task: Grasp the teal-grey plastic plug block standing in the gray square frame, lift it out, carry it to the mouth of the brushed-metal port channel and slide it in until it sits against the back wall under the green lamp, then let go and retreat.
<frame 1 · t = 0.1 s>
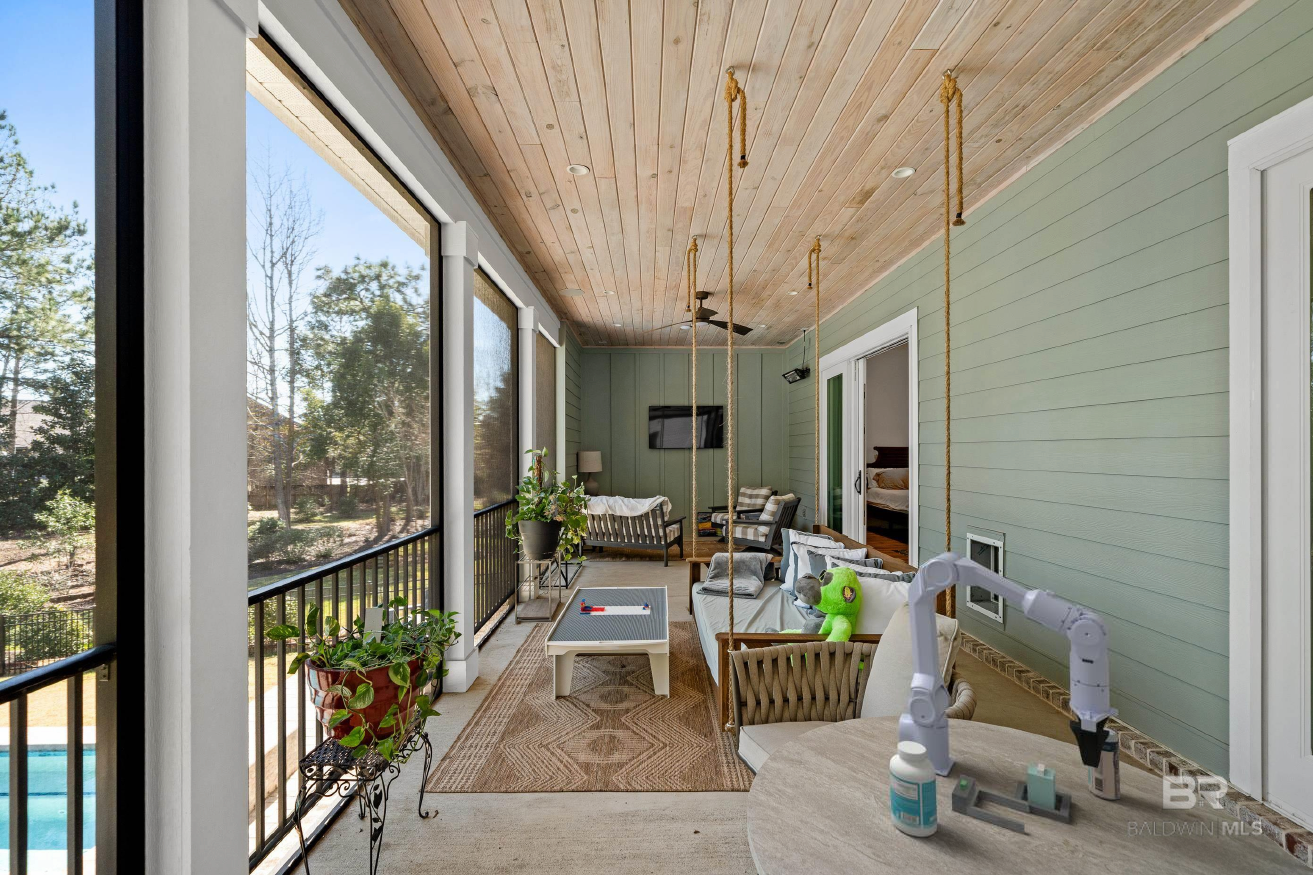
hand: (1091, 756, 107), 10 cm above the table, fingers open, 7 cm apart
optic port: (997, 812, 107), on the table
supplement canister: (1104, 795, 112), on the table
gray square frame: (1041, 804, 109), on the table
pill bottle: (913, 826, 103), on the table
plug: (1042, 804, 109), on the table
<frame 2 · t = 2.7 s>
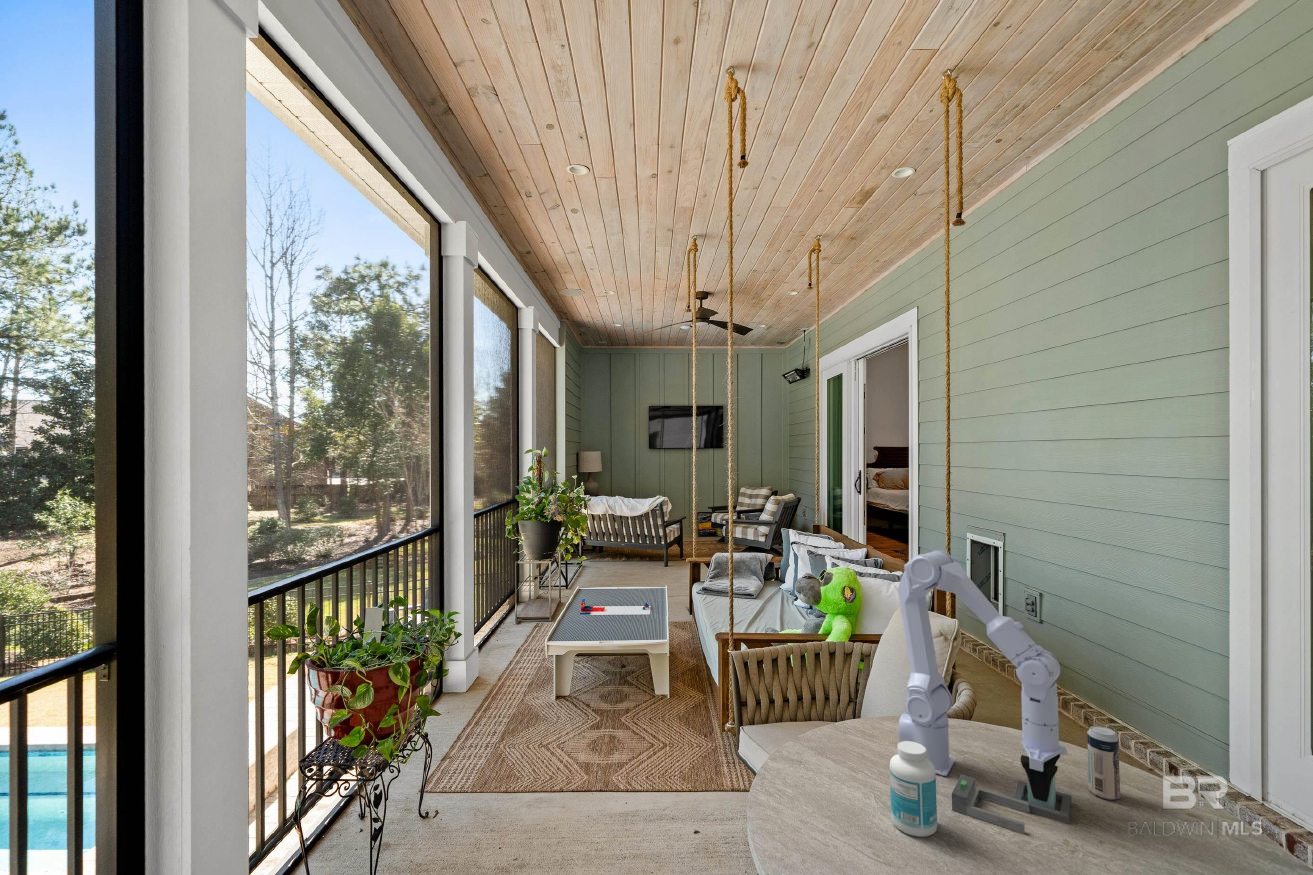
hand: (1041, 793, 109), 2 cm above the table, fingers closed on plug, 4 cm apart
plug: (1041, 804, 109), on the table, touching gripper
everything else where it was.
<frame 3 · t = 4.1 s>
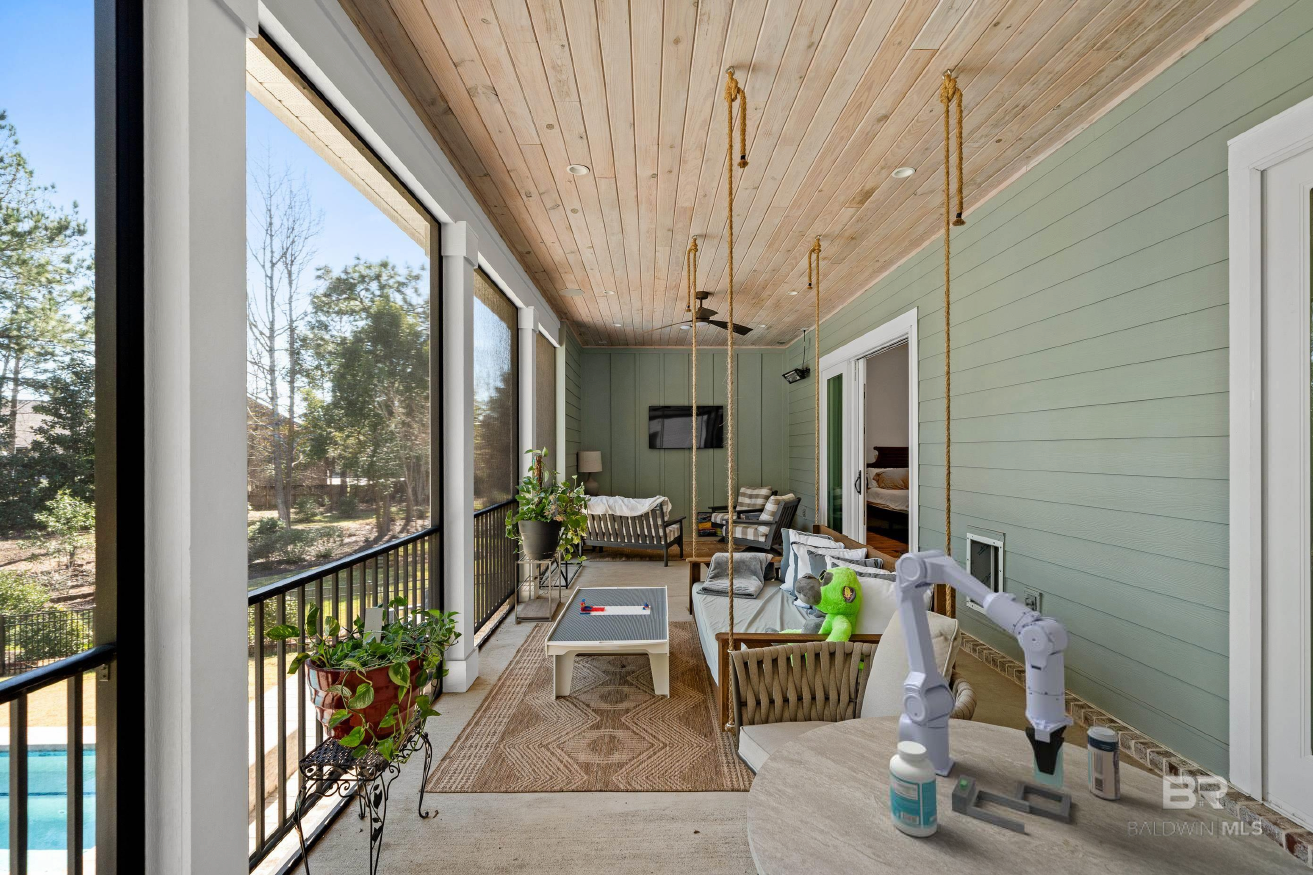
hand: (1047, 767, 104), 9 cm above the table, fingers closed on plug, 4 cm apart
plug: (1049, 779, 104), point 7 cm above the table, touching gripper
everything else where it was.
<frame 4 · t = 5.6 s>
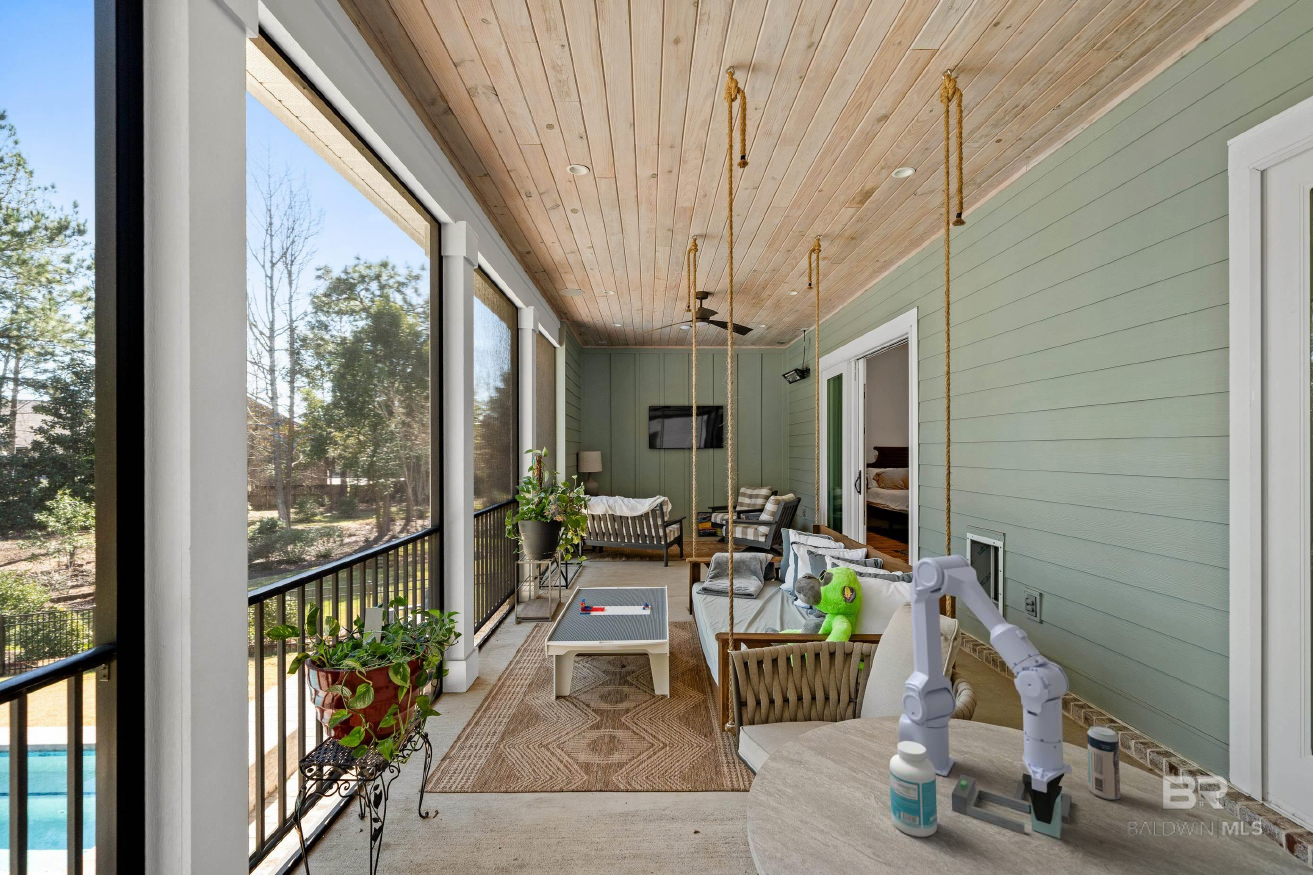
hand: (1044, 814, 102), 2 cm above the table, fingers closed on plug, 4 cm apart
plug: (1046, 827, 102), on the table, touching gripper
everything else where it was.
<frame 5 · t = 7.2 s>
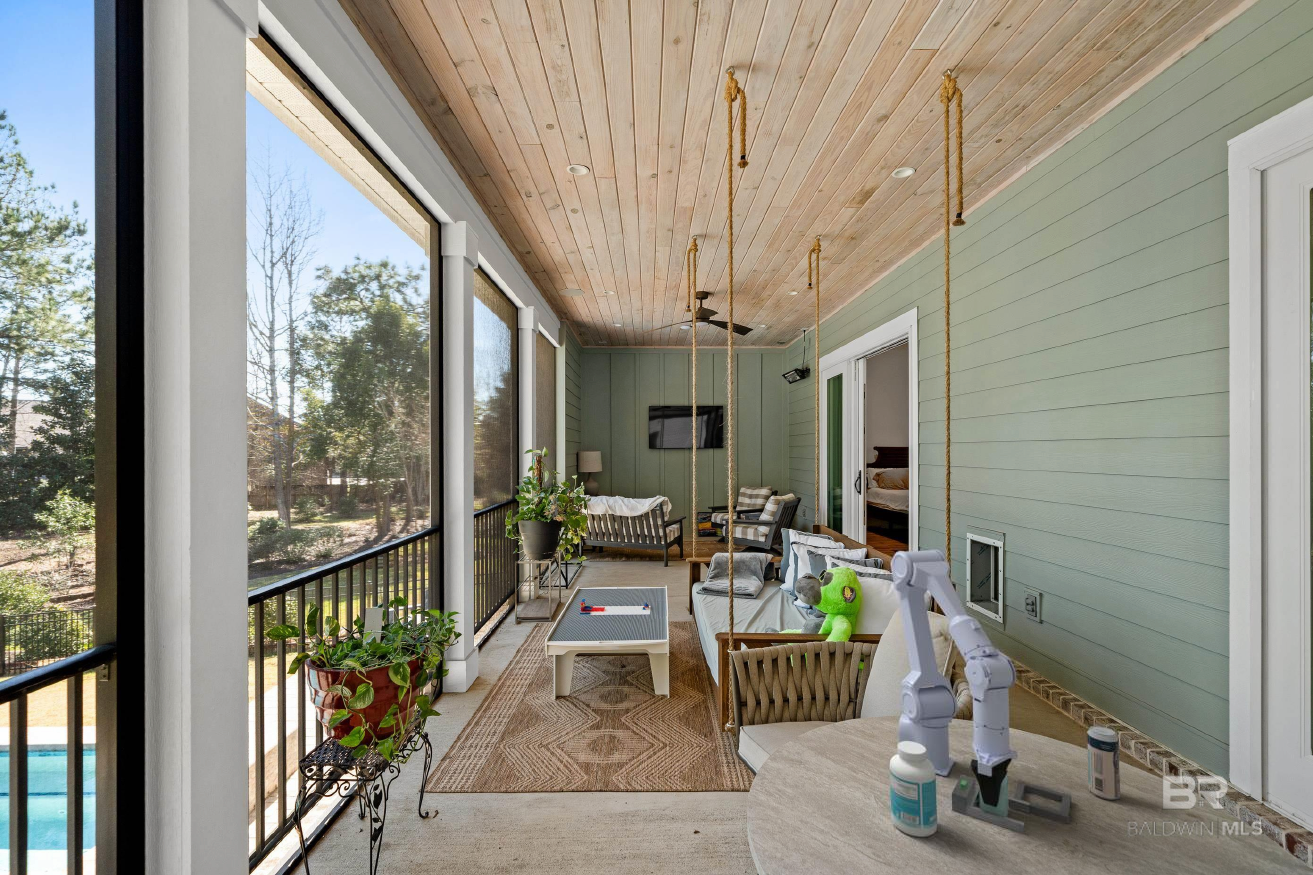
hand: (992, 798, 107), 2 cm above the table, fingers closed on plug, 4 cm apart
plug: (994, 810, 107), on the table, touching gripper
everything else where it was.
when the fingers open (2 cm above the table, at t = 8.7 s): plug stays where it is, on the table.
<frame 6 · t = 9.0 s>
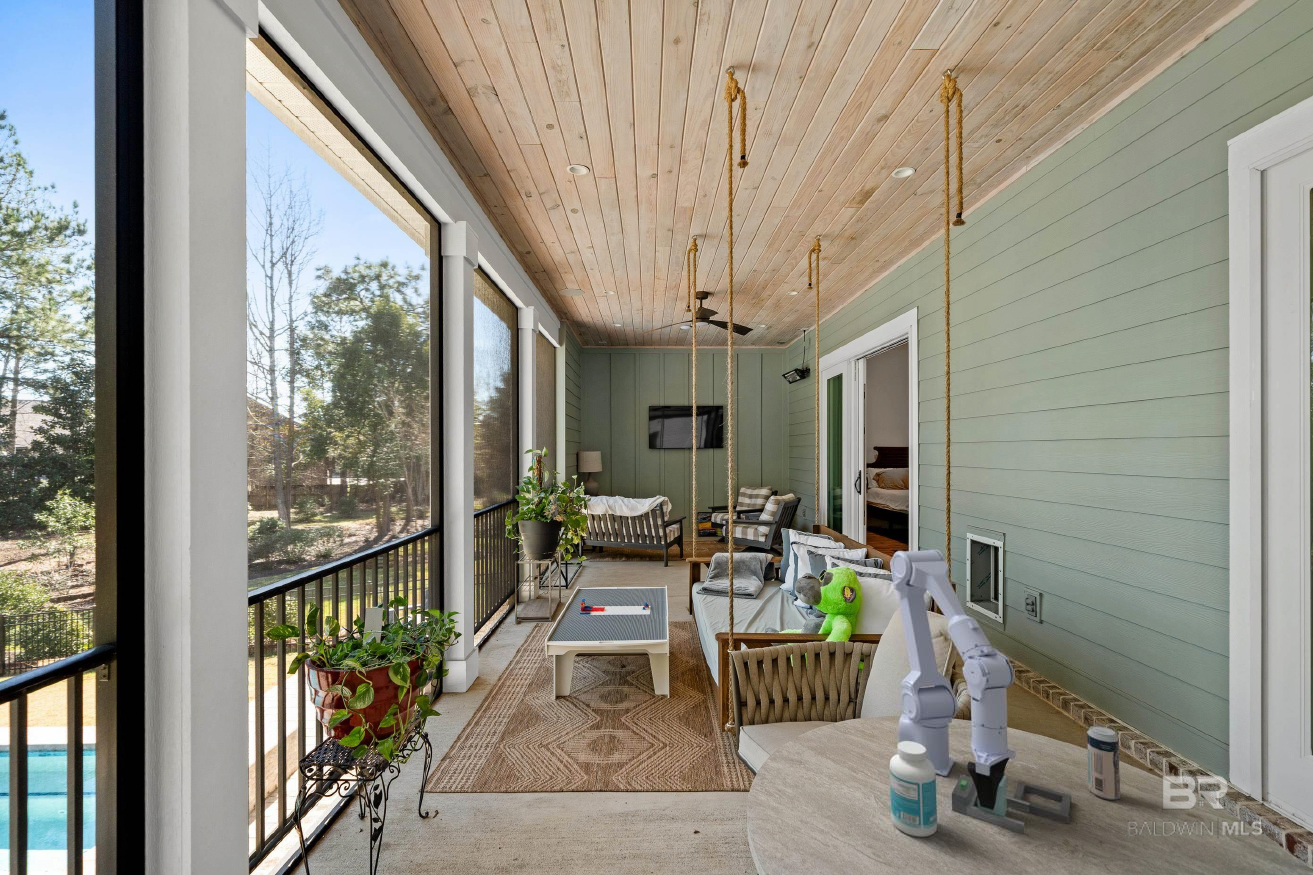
hand: (990, 797, 107), 2 cm above the table, fingers open, 7 cm apart
plug: (992, 811, 107), on the table
everything else where it was.
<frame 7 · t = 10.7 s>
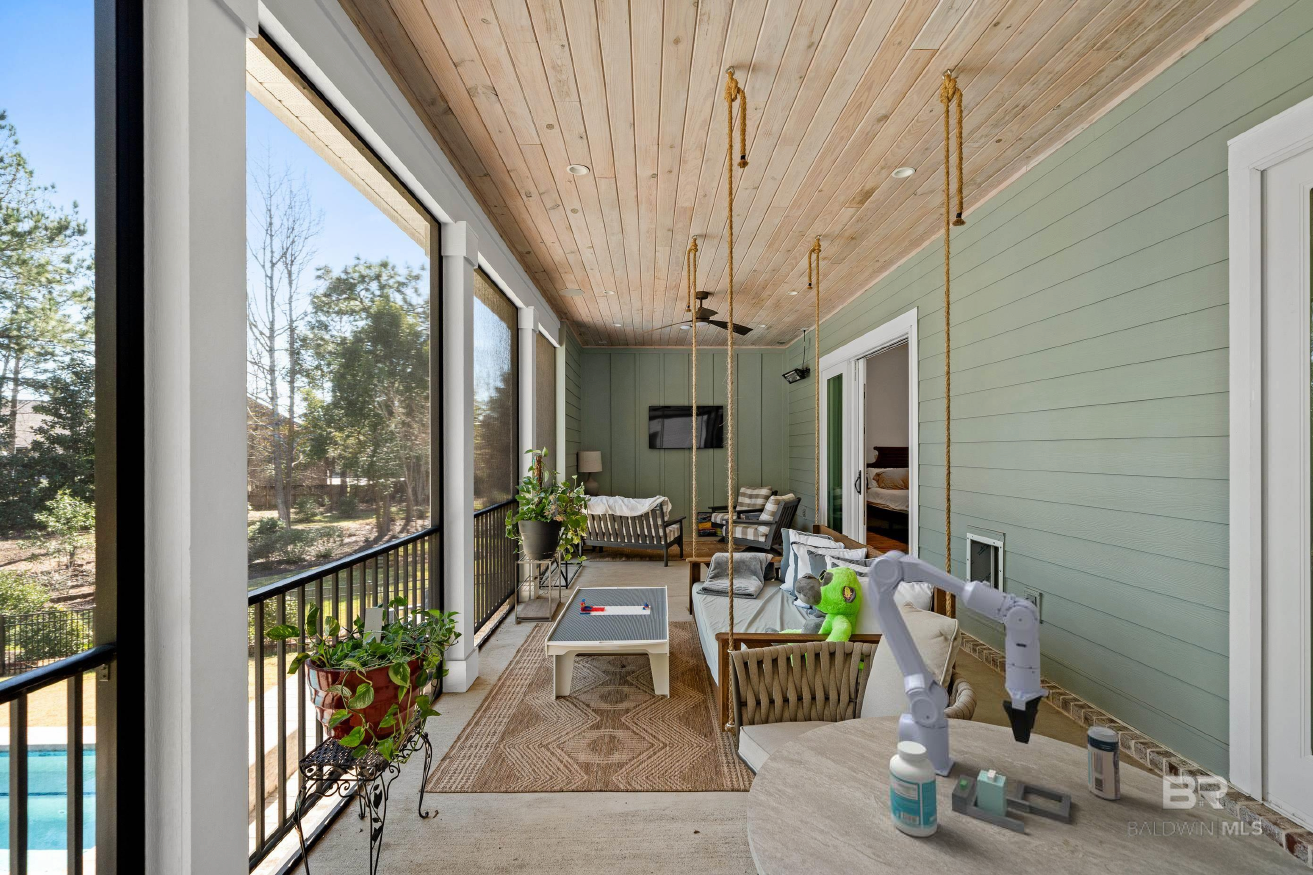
hand: (1024, 734, 115), 10 cm above the table, fingers open, 7 cm apart
nothing on the table moved.
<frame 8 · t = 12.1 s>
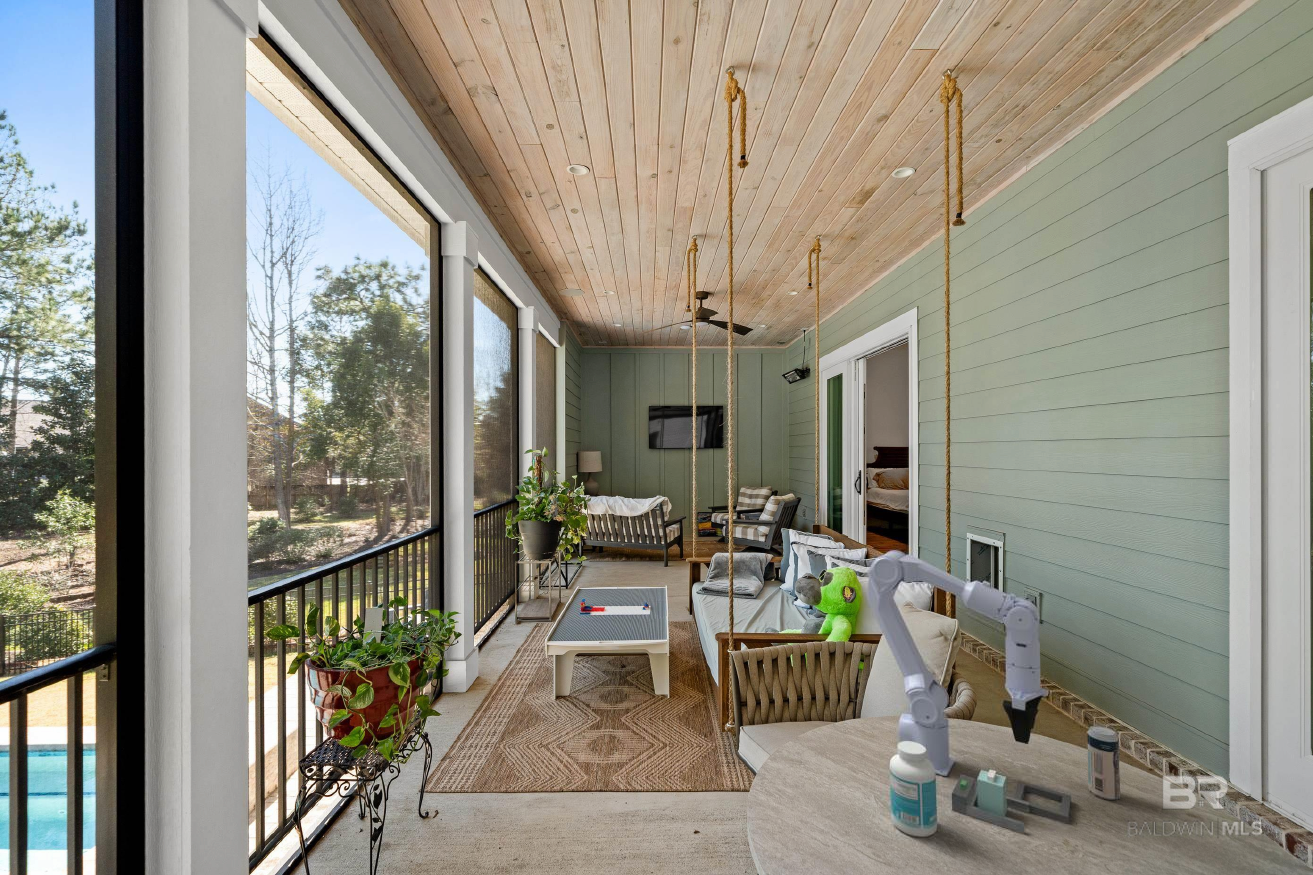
hand: (1024, 734, 115), 10 cm above the table, fingers open, 7 cm apart
nothing on the table moved.
at the end: plug 0.7 cm from the target spot, on the table; plug tilted 0°; the gripper is holding nothing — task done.
